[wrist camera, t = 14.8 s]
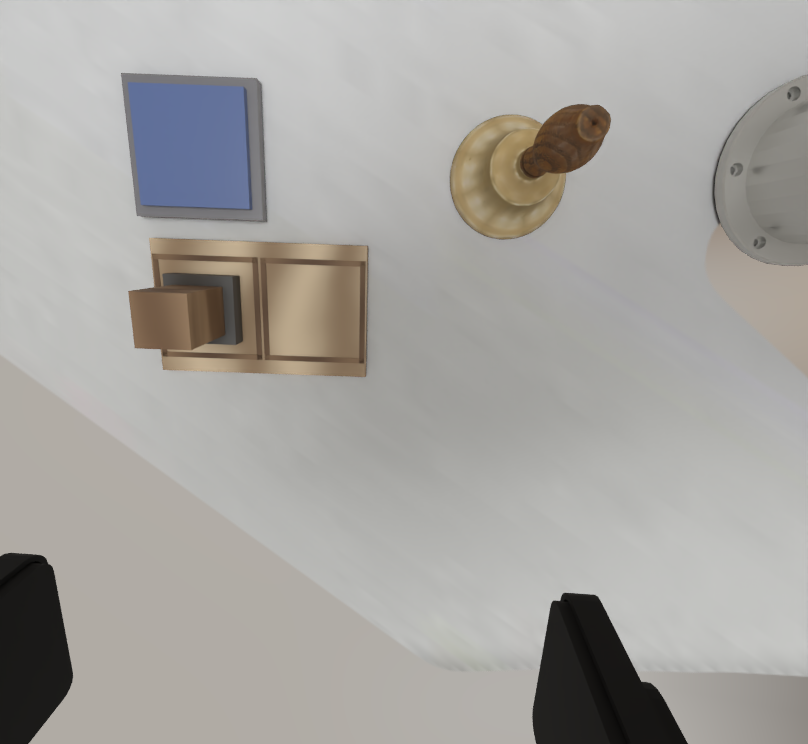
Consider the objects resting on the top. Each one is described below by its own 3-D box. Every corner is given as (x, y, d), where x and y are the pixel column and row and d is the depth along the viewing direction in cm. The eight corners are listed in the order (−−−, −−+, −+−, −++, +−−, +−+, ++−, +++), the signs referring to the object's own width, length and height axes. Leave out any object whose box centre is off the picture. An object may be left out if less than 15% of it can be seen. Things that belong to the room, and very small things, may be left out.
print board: (367, 246, 34) (367, 246, 33) (366, 374, 36) (365, 377, 36) (153, 238, 34) (148, 237, 33) (166, 367, 36) (162, 369, 36)
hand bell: (560, 238, 34) (691, 227, 18) (449, 240, 34) (486, 231, 18) (569, 114, 32) (725, -16, 16) (450, 116, 32) (493, -12, 16)
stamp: (239, 275, 34) (198, 281, 27) (243, 341, 35) (204, 362, 28) (172, 272, 34) (114, 278, 27) (178, 338, 35) (124, 359, 28)
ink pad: (261, 83, 31) (253, 74, 30) (266, 221, 33) (259, 219, 32) (130, 78, 31) (115, 69, 30) (144, 216, 33) (132, 215, 32)
